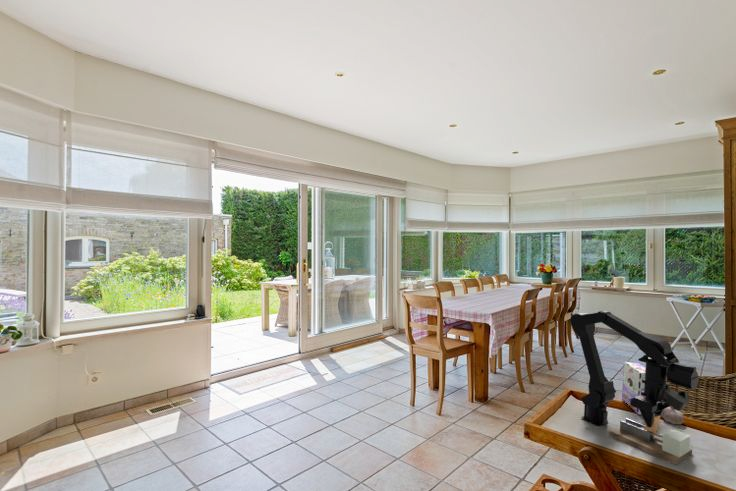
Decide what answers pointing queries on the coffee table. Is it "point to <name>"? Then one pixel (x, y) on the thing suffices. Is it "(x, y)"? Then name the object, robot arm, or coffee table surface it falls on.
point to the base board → (647, 445)
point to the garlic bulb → (673, 415)
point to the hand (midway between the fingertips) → (652, 425)
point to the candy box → (633, 382)
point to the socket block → (676, 443)
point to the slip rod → (654, 429)
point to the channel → (635, 430)
